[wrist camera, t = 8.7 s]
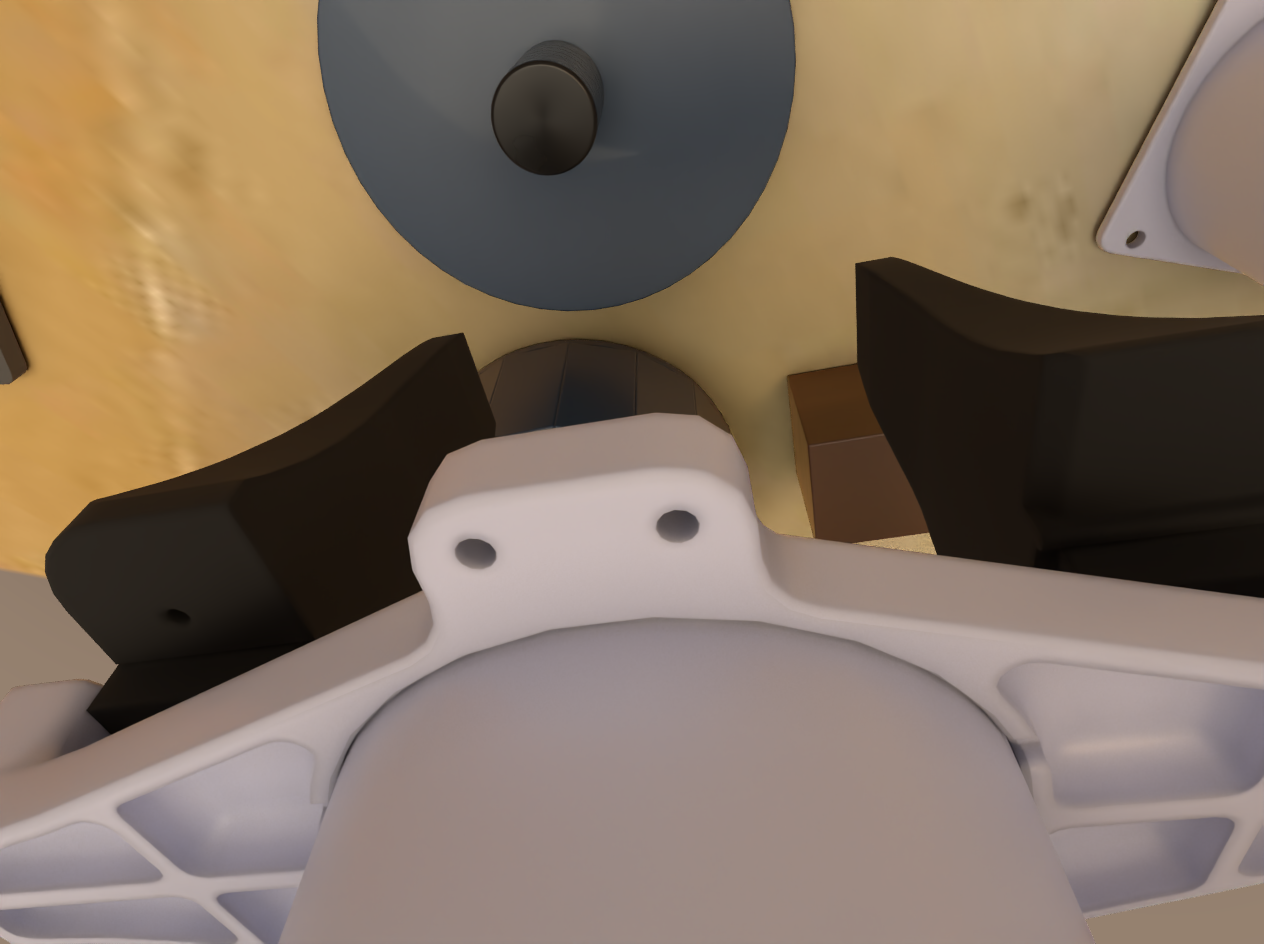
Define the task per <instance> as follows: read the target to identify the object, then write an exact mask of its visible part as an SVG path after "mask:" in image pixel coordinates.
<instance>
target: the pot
mask: <svg viewBox="0 0 1264 944" xmlns="http://www.w3.org/2000/svg"><path fill="white" fill-rule="evenodd" d="M478 374H479V377H480V380H481V383H482V385H483V388H484V391H485V394H486V397H487V399H488V402H489V405H490V408H491V410H492V413H493V416H494V419H495V421H496V431H495V438H496V437H503V436H509V435H515V434H522V433H528V432H535V431H541V430H547V429H554V428H560V427H567V426H573V425H579V424H586V423H592V422H598V421H605V420H611V419H618V418H624V417H630V416H637V415H643V414H650V413H669V414H684V415H699V416H700V417H702V418H704V419H705V420H707V421H709V422H710V423H712V424H714V425H715V426H717V427H719V428H720V429H722V430H724V431H725V432H727V433H729V434H730V435H731V433H730V429H729V426H728V425H727V424H726V423H725V421H724V419H723V417H722V415H721V413H720V412H719V410H718V409H717V407H716V406H715V404H714V403H713V401H712V400H711V399H710V398H709V396H708V395H707V394H706V393H705V392H704V391H703V390H702V389H701V388H700V387H699V386H698V385H697V384H696V383H695V382H694V381H693V380H691V379H690V378H689V377H688V376H687V375H685V374H684V373H683V372H681V371H680V370H678V369H677V368H675V367H673V366H672V365H670V364H669V363H667V362H666V361H663V360H661V359H659V358H657V357H655V356H653V355H651V354H649V353H646V352H644V351H640V350H637V349H634V348H631V347H628V346H625V345H620V344H615V343H610V342H605V341H594V340H559V341H553V342H547V343H541V344H536V345H533V346H529V347H526V348H523V349H519V350H516V351H514V352H512V353H510V354H507V355H505V356H503V357H501V358H498V359H497V360H495V361H494V362H492V363H490V364H489V365H487V366H485V367H484V368H482V369H481V370H480V371H479V372H478Z"/></svg>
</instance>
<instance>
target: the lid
mask: <svg viewBox="0 0 1264 944" xmlns="http://www.w3.org/2000/svg"><path fill="white" fill-rule="evenodd" d="M317 28H318V55H319V61H320V68H321V74H322V81H323V87H324V92H325V95H326V99H327V103H328V106H329V110H330V114H331V118H332V121H333V124H334V127H335V129H336V132H337V134H338V137H339V139H340V142H341V144H342V147H343V149H344V152H345V154H346V156H347V158H348V160H349V162H350V164H351V166H352V168H353V169H354V171H355V173H356V175H357V177H358V179H359V181H360V183H361V184H362V186H363V187H364V189H365V190H366V192H367V193H368V195H369V196H370V198H371V199H372V201H373V202H374V204H375V205H376V207H377V208H378V209H379V210H380V212H381V213H382V214H383V215H384V216H385V218H386V219H387V220H388V221H389V222H390V224H391V225H392V226H393V227H394V228H395V230H396V231H397V232H398V233H399V234H400V235H401V236H402V237H403V238H404V239H405V240H407V241H408V242H409V243H410V244H411V245H412V246H413V247H414V248H415V249H416V250H417V251H418V252H419V253H420V254H422V255H423V256H424V257H426V258H427V259H428V260H430V261H431V262H432V263H433V264H435V265H436V266H437V267H439V268H440V269H441V270H443V271H445V272H446V273H448V274H449V275H451V276H453V277H454V278H456V279H458V280H459V281H461V282H463V283H464V284H466V285H468V286H471V287H473V288H475V289H477V290H479V291H481V292H484V293H486V294H488V295H490V296H493V297H496V298H499V299H502V300H505V301H508V302H511V303H514V304H519V305H524V306H529V307H534V308H539V309H547V310H560V311H581V310H596V309H602V308H608V307H614V306H619V305H623V304H626V303H629V302H633V301H636V300H639V299H643V298H645V297H647V296H650V295H652V294H654V293H657V292H659V291H661V290H663V289H666V288H668V287H669V286H671V285H673V284H674V283H676V282H678V281H679V280H681V279H683V278H684V277H686V276H688V275H689V274H691V273H692V272H693V271H695V270H696V269H697V268H699V267H700V266H701V265H702V264H704V263H705V262H706V261H708V260H709V259H710V258H711V257H712V256H713V255H714V254H715V253H716V252H717V251H718V250H719V249H720V248H721V247H722V246H723V245H724V244H725V243H726V242H727V241H728V240H729V239H730V238H731V237H732V236H733V235H734V234H735V232H736V231H737V230H738V228H739V227H740V226H741V225H742V223H743V222H744V221H745V219H746V218H747V217H748V216H749V214H750V213H751V211H752V209H753V208H754V206H755V204H756V203H757V201H758V199H759V198H760V196H761V194H762V193H763V191H764V189H765V187H766V185H767V183H768V181H769V178H770V176H771V174H772V172H773V169H774V167H775V165H776V163H777V161H778V157H779V154H780V151H781V148H782V145H783V141H784V138H785V135H786V132H787V128H788V123H789V118H790V112H791V107H792V102H793V96H794V82H795V67H796V54H795V34H794V22H793V16H792V10H791V5H790V0H319V2H318V14H317Z"/></svg>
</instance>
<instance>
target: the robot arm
mask: <svg viewBox="0 0 1264 944" xmlns="http://www.w3.org/2000/svg"><path fill="white" fill-rule="evenodd" d="M1135 231H1139V233H1138V236H1137V238H1136V239H1135V240H1134V241H1132V242H1131V243H1128V244H1126V241H1127V238H1128V237H1129V236H1130V235H1131V234H1132V233H1134V232H1135ZM1096 243H1097V244H1098V246H1099V247H1100V248H1101V249H1103V250H1104V251H1106V252H1108V253H1112V254H1119V255H1125V256H1131V257H1138V258H1144V259H1151V260H1157V261H1164V262H1170V263H1177V264H1183V265H1190V266H1196V267H1203V268H1209V269H1215V270H1222V271H1228V272H1235V273H1241V274H1245V275H1246V276H1248V277H1250V278H1251V279H1253V280H1255V281H1256V282H1258V283H1260V284H1261V285H1263V286H1264V0H1218V1H1217V3H1216V5H1215V7H1214V9H1213V11H1212V13H1211V15H1210V16H1209V18H1208V20H1207V22H1206V24H1205V26H1204V28H1203V30H1202V32H1201V34H1200V36H1199V38H1198V39H1197V41H1196V43H1195V45H1194V47H1193V49H1192V51H1191V53H1190V55H1189V57H1188V59H1187V61H1186V63H1185V64H1184V66H1183V68H1182V70H1181V72H1180V74H1179V76H1178V78H1177V80H1176V82H1175V84H1174V86H1173V87H1172V89H1171V91H1170V93H1169V95H1168V97H1167V99H1166V101H1165V103H1164V105H1163V107H1162V109H1161V110H1160V112H1159V114H1158V116H1157V118H1156V120H1155V122H1154V124H1153V126H1152V128H1151V130H1150V132H1149V134H1148V135H1147V137H1146V139H1145V141H1144V143H1143V145H1142V147H1141V149H1140V151H1139V153H1138V155H1137V157H1136V158H1135V160H1134V162H1133V164H1132V166H1131V168H1130V170H1129V172H1128V174H1127V176H1126V178H1125V180H1124V182H1123V183H1122V185H1121V187H1120V189H1119V191H1118V193H1117V195H1116V197H1115V199H1114V201H1113V203H1112V205H1111V206H1110V208H1109V210H1108V212H1107V214H1106V216H1105V218H1104V220H1103V222H1102V224H1101V226H1100V228H1099V229H1098V232H1097V235H1096ZM855 269H856V317H857V364H858V369H859V372H860V376H861V379H862V382H863V386H864V389H865V392H866V395H867V398H868V401H869V404H870V407H871V409H872V411H873V413H874V415H875V417H876V419H877V421H878V423H879V425H880V427H881V429H882V431H883V433H884V435H885V437H886V439H887V441H888V443H889V445H890V447H891V449H892V451H893V453H894V455H895V457H896V459H897V461H898V463H899V465H900V466H901V468H902V470H903V472H904V474H905V476H906V478H907V480H908V482H909V484H910V486H911V488H912V490H913V492H914V494H915V497H916V499H917V501H918V503H919V506H920V508H921V510H922V513H923V516H924V519H925V522H926V525H927V527H928V530H929V533H930V536H931V539H932V542H933V544H934V547H935V550H936V553H937V555H934V554H927V553H919V552H912V551H904V550H897V549H889V548H881V547H874V546H866V545H859V544H851V543H844V542H836V541H829V540H821V539H814V538H806V537H799V536H791V535H784V534H777V533H775V532H774V531H772V530H770V529H769V528H767V527H766V526H764V525H763V524H762V523H761V521H760V520H759V518H758V517H757V515H756V511H755V506H754V500H753V494H752V488H751V483H750V477H749V471H748V466H747V464H746V462H745V460H744V458H743V456H742V454H741V452H740V450H739V448H738V446H737V444H736V442H735V440H734V438H733V436H732V435H730V434H729V433H727V432H725V431H724V430H722V429H720V428H719V427H717V426H715V425H714V424H712V423H710V422H709V421H707V420H705V419H704V418H702V417H700V416H699V415H684V414H669V413H650V414H643V415H637V416H630V417H624V418H618V419H611V420H605V421H598V422H592V423H586V424H579V425H573V426H567V427H560V428H554V429H547V430H541V431H535V432H528V433H522V434H515V435H509V436H503V437H496V438H495V431H496V421H495V419H494V416H493V413H492V410H491V408H490V405H489V402H488V399H487V397H486V394H485V391H484V388H483V385H482V383H481V380H480V377H479V374H478V372H477V369H476V366H475V363H474V361H473V358H472V355H471V352H470V350H469V347H468V344H467V341H466V339H465V336H464V333H458V334H453V335H447V336H442V337H436V338H432V339H430V340H427V341H425V342H423V343H422V344H420V345H418V346H417V347H415V348H414V349H412V350H411V351H409V352H408V353H406V354H405V355H403V356H402V357H401V358H399V359H398V360H396V361H395V362H394V363H392V364H391V365H389V366H388V367H387V368H385V369H384V370H383V371H381V372H380V373H378V374H377V375H376V376H374V377H373V378H372V379H370V380H369V381H367V382H366V383H365V384H363V385H362V386H360V387H359V388H357V389H356V390H354V391H353V392H351V393H350V394H348V395H347V396H345V397H344V398H342V399H341V400H340V401H338V402H337V403H335V404H334V405H332V406H331V407H329V408H328V409H326V410H324V411H323V412H321V413H319V414H318V415H316V416H314V417H313V418H311V419H309V420H308V421H306V422H304V423H302V424H300V425H298V426H296V427H295V428H293V429H291V430H289V431H287V432H285V433H283V434H281V435H279V436H277V437H275V438H273V439H271V440H269V441H267V442H264V443H262V444H260V445H258V446H255V447H253V448H251V449H249V450H247V451H244V452H242V453H240V454H238V455H235V456H233V457H231V458H228V459H226V460H223V461H220V462H218V463H215V464H213V465H210V466H207V467H205V468H202V469H199V470H196V471H193V472H190V473H187V474H184V475H182V476H179V477H176V478H172V479H169V480H166V481H163V482H160V483H156V484H152V485H149V486H145V487H141V488H138V489H134V490H131V491H127V492H123V493H120V494H116V495H113V496H109V497H105V498H100V499H96V500H94V501H92V502H90V503H89V504H88V505H87V506H86V507H85V508H84V509H83V510H82V511H81V512H80V513H79V514H78V516H77V517H76V518H75V519H74V520H73V521H72V522H71V523H70V524H69V525H68V526H67V527H66V528H65V529H64V530H63V531H62V532H61V533H60V534H59V535H58V537H57V538H56V539H55V540H54V541H53V543H52V544H51V546H50V548H49V550H48V552H47V553H46V556H45V573H46V576H47V579H48V581H49V584H50V586H51V589H52V591H53V593H54V595H55V596H56V598H57V599H58V600H59V602H60V603H61V604H62V606H63V607H64V608H65V610H66V611H67V612H68V613H69V614H70V615H71V616H72V617H73V618H74V620H75V621H76V622H77V623H78V624H79V625H80V626H81V627H82V628H83V629H84V630H85V631H86V632H87V633H88V634H89V636H90V637H91V638H92V639H93V640H94V641H95V642H96V643H97V644H98V645H99V646H100V647H101V648H102V649H103V651H104V652H105V653H106V654H107V655H108V656H109V657H110V658H111V659H112V660H113V661H114V662H115V664H119V665H118V666H117V668H116V670H115V671H114V672H113V674H112V675H111V676H110V678H109V679H108V680H107V682H106V683H105V685H104V686H103V685H102V684H99V683H96V682H94V681H91V680H84V679H73V680H66V681H57V682H49V683H40V684H33V685H24V686H17V687H13V688H12V689H11V690H10V691H9V692H8V693H7V695H6V696H5V697H4V698H3V699H2V701H1V702H0V937H2V938H3V939H5V940H6V941H8V942H10V943H11V944H1096V943H1095V941H1094V939H1093V936H1092V934H1091V932H1090V929H1089V927H1088V925H1087V922H1086V920H1085V919H1089V918H1093V917H1098V916H1104V915H1109V914H1113V913H1118V912H1123V911H1128V910H1133V909H1138V908H1143V907H1148V906H1153V905H1158V904H1163V903H1168V902H1173V901H1178V900H1183V899H1188V898H1193V897H1198V896H1203V895H1208V894H1213V893H1218V892H1223V891H1228V890H1232V889H1237V888H1242V887H1247V886H1252V885H1257V884H1262V883H1264V315H1257V316H1235V317H1214V318H1153V317H1132V316H1117V315H1108V314H1098V313H1089V312H1080V311H1073V310H1067V309H1060V308H1055V307H1050V306H1045V305H1040V304H1035V303H1030V302H1025V301H1021V300H1017V299H1014V298H1010V297H1006V296H1003V295H1000V294H996V293H993V292H990V291H986V290H983V289H980V288H977V287H974V286H971V285H968V284H966V283H963V282H960V281H957V280H955V279H952V278H950V277H947V276H944V275H942V274H939V273H937V272H934V271H932V270H929V269H927V268H924V267H922V266H919V265H916V264H914V263H911V262H908V261H905V260H902V259H899V258H894V257H889V258H883V259H877V260H872V261H866V262H860V263H855Z"/></svg>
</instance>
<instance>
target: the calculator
mask: <svg viewBox="0 0 1264 944" xmlns="http://www.w3.org/2000/svg"><path fill="white" fill-rule="evenodd" d="M26 370H27V366H26V362H25V360H24V357H23V355H22V352H21V350H20V348H19V345H18V343H17V340H16V338H15V336H14V333H13V331H12V328H11V326H10V324H9V321H8V319H7V316H6V314H5V312H4V309H3V307H2V304H1V302H0V384H10V383H11V382H13V381H14V380H16V379H17V378H18V377H20V376H21V375H22V374H24V373H25V372H26Z"/></svg>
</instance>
